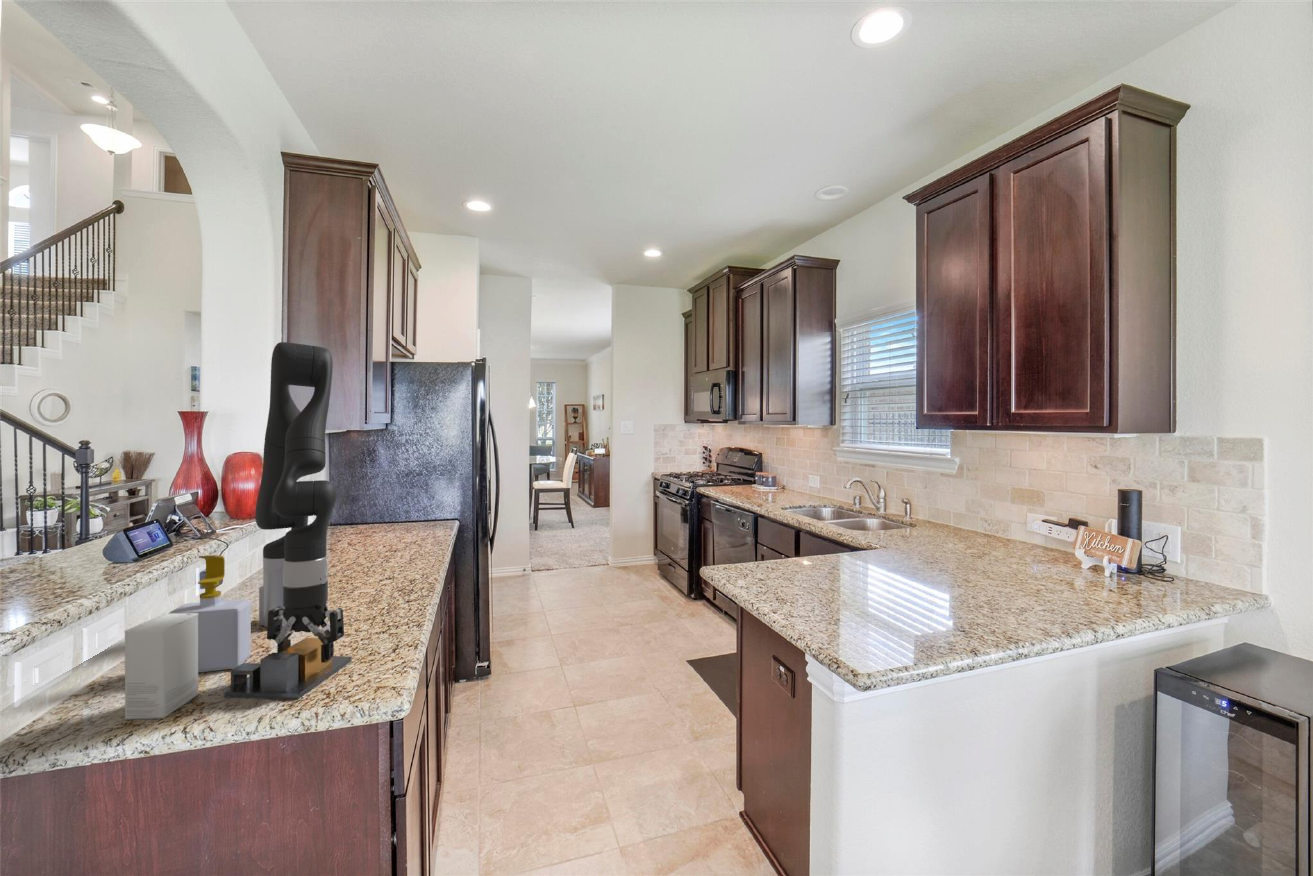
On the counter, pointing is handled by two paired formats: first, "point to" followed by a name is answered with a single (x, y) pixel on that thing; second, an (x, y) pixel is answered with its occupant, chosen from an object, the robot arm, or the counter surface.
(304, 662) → the block
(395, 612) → the counter surface
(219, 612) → the soap bottle
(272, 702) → the counter surface
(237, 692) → the stand
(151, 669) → the skincare box
